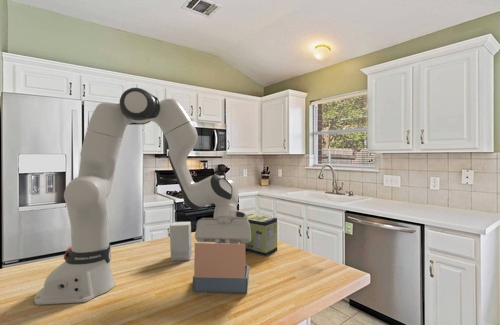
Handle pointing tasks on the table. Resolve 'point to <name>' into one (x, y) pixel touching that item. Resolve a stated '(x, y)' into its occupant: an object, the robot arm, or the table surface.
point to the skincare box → (180, 241)
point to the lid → (219, 260)
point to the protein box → (262, 235)
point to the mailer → (221, 284)
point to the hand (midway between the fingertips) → (221, 252)
